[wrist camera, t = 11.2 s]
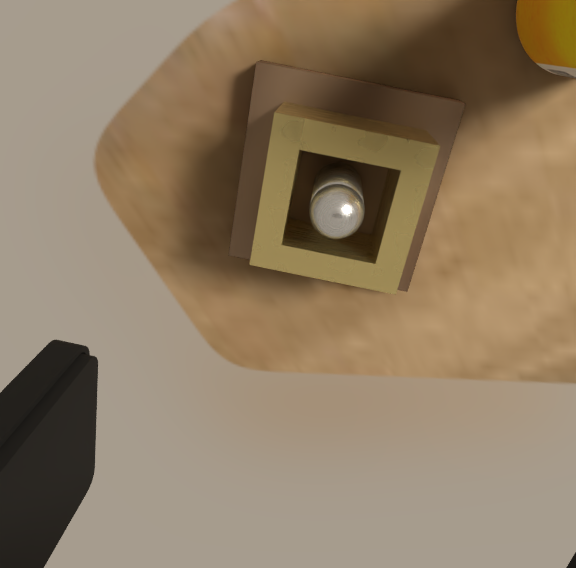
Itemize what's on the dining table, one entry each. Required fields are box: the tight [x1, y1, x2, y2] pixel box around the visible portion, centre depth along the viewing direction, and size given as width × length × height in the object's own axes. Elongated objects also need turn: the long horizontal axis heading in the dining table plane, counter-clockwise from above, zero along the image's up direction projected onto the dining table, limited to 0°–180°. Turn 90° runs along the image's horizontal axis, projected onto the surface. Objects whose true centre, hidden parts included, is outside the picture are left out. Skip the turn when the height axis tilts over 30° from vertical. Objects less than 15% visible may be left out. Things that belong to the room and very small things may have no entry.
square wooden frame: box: [250, 102, 440, 295], centre depth 26 cm, size 7×7×4 cm
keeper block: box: [229, 60, 465, 292], centre depth 25 cm, size 10×10×7 cm
